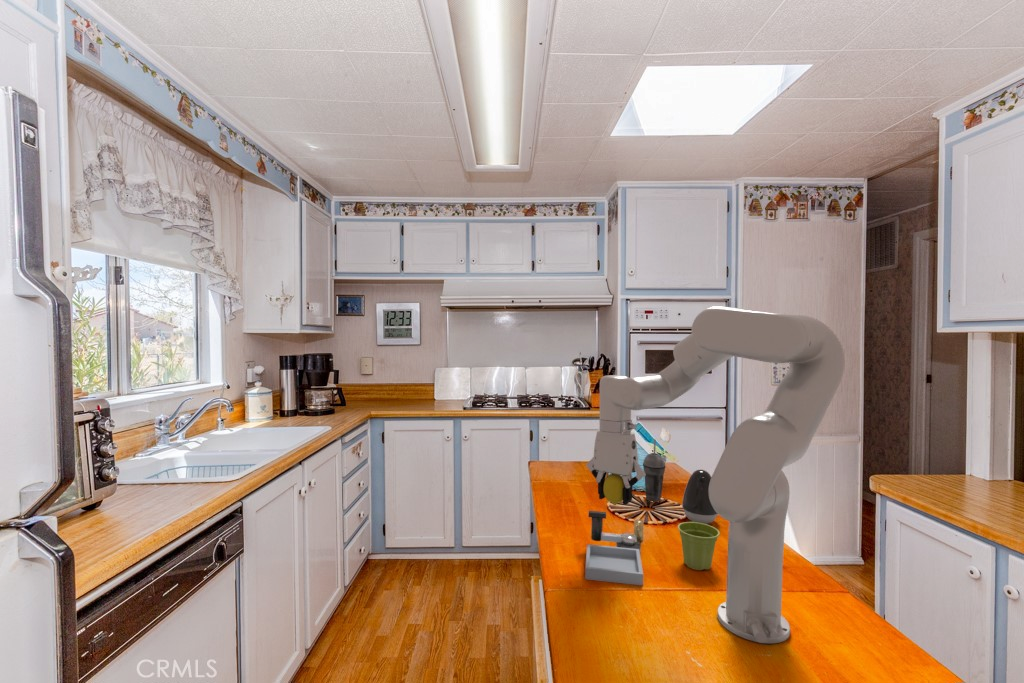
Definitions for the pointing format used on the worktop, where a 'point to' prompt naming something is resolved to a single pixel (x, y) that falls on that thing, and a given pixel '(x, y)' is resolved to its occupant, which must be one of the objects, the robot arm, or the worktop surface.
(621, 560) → the tray
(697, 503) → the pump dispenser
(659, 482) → the beverage cup
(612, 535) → the crank handle
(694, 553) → the plant pot
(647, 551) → the worktop surface
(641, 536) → the crank base
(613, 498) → the lemon
